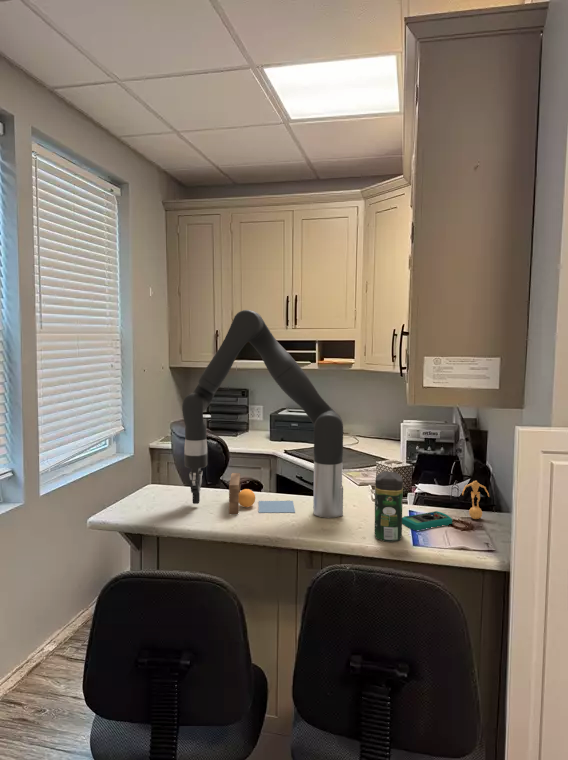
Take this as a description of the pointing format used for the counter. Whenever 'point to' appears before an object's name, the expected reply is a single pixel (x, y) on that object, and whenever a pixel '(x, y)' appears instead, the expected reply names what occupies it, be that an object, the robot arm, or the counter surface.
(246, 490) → the ball
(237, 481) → the bridge
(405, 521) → the digital multimeter
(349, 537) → the counter surface
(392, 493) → the coffee jar
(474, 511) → the figurine
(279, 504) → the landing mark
